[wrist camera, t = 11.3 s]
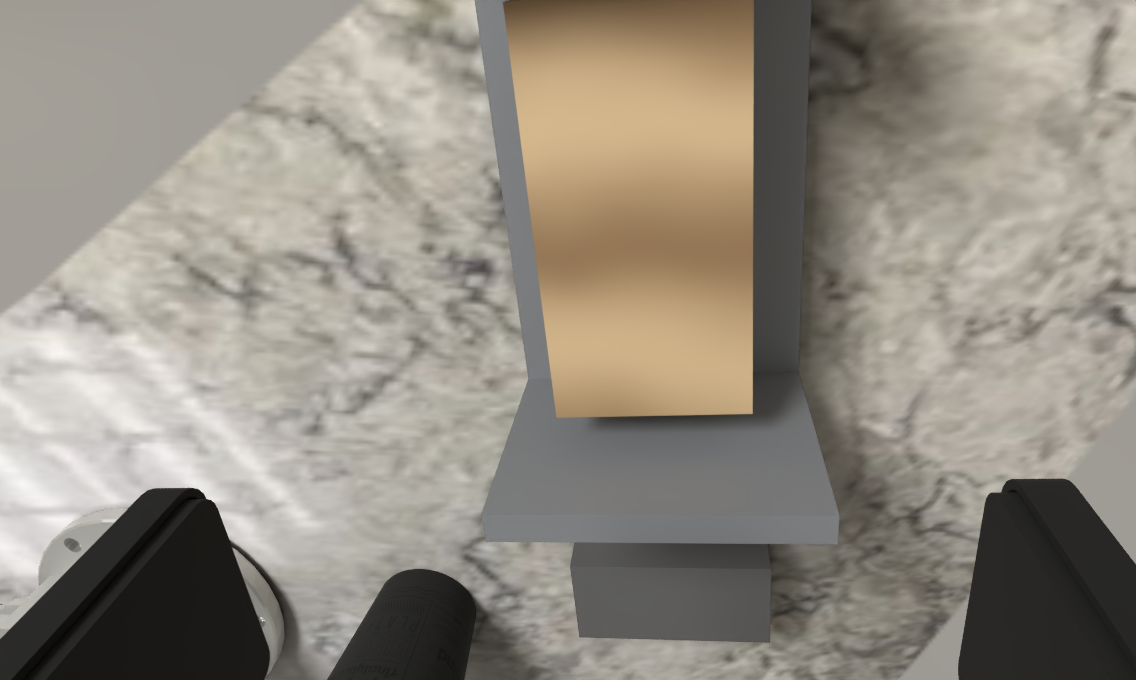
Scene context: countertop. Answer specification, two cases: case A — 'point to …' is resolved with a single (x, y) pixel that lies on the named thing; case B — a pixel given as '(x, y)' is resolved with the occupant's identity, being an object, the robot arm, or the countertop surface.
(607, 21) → the shelf board
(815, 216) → the countertop surface
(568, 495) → the cabinet stand
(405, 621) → the drinking cup
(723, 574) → the block
